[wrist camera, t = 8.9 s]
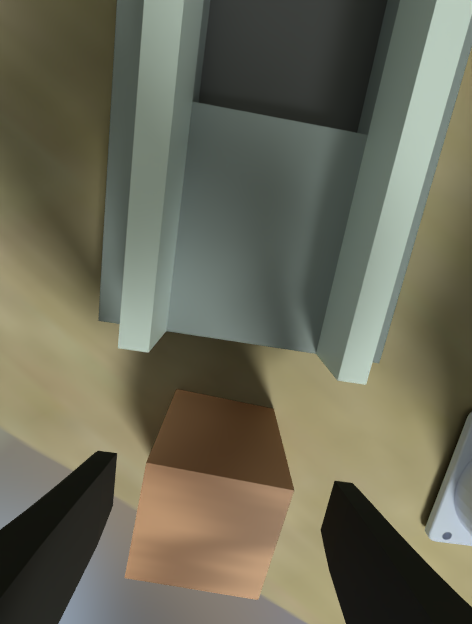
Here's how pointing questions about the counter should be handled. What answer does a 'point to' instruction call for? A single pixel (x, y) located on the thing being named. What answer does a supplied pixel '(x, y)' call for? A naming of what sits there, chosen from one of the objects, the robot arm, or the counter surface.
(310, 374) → the counter surface
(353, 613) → the robot arm
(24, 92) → the counter surface
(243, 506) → the cube
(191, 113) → the channel
